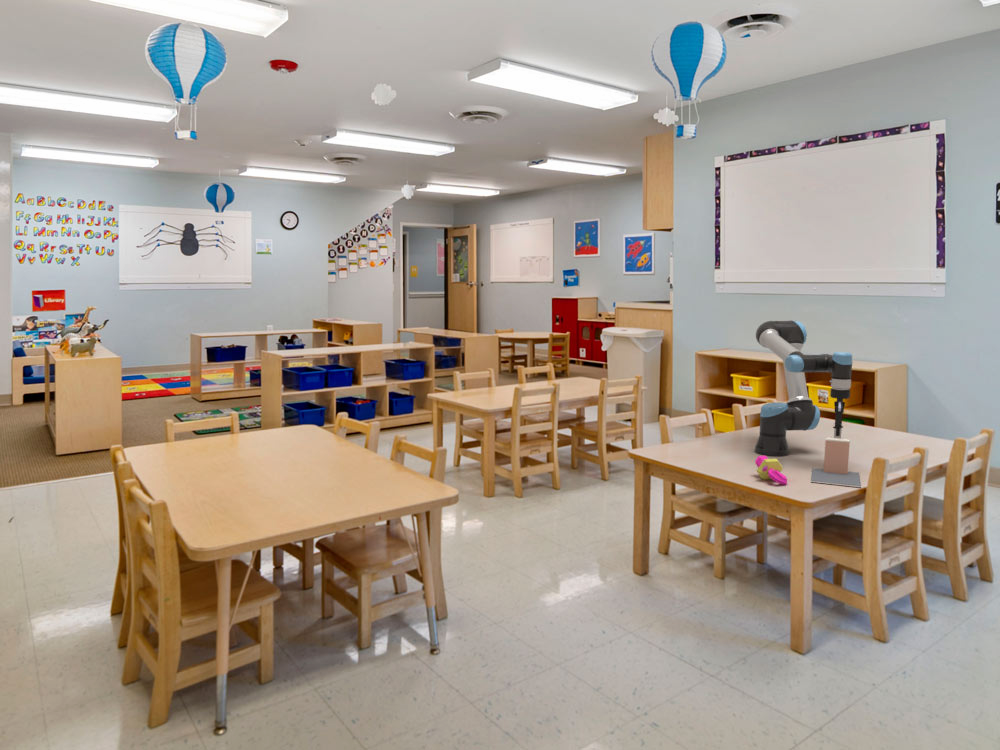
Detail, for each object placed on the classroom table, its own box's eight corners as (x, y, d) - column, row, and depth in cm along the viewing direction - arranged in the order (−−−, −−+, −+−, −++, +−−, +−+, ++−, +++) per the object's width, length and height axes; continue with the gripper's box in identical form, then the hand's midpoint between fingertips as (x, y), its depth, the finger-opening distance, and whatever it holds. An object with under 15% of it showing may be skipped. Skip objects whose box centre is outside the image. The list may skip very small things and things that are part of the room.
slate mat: (812, 469, 300) (812, 467, 300) (859, 474, 292) (859, 472, 292) (810, 482, 280) (810, 480, 280) (861, 488, 272) (861, 486, 272)
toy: (766, 488, 275) (781, 467, 272) (742, 464, 291) (756, 444, 288) (784, 495, 279) (799, 475, 276) (760, 471, 295) (774, 451, 292)
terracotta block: (823, 469, 297) (825, 437, 295) (847, 472, 293) (849, 439, 291) (823, 471, 293) (825, 439, 291) (847, 474, 289) (849, 441, 288)
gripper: (830, 386, 304) (827, 439, 307) (830, 390, 292) (827, 445, 295) (849, 387, 300) (846, 440, 303) (850, 391, 289) (847, 447, 292)
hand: (837, 442), depth 299 cm, fingers closed
